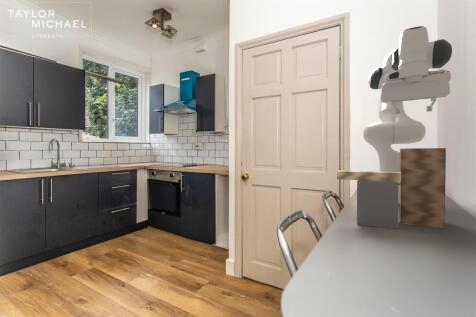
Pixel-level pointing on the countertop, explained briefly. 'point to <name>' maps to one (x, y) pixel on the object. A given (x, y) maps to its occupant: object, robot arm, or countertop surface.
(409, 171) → the pedestal
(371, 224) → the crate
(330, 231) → the countertop surface
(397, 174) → the bar
